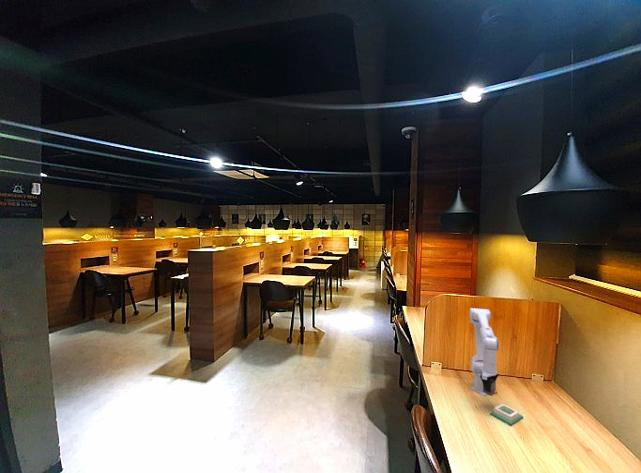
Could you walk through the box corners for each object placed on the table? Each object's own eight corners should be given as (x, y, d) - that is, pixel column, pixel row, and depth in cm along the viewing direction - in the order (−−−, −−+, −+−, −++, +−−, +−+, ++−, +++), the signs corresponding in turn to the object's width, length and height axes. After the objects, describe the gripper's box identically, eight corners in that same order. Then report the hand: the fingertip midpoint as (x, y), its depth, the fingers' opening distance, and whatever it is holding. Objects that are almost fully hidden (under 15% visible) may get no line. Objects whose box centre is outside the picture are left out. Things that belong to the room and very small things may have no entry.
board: (502, 407, 135) (502, 405, 135) (523, 418, 127) (523, 416, 127) (489, 414, 130) (489, 412, 130) (510, 426, 122) (510, 423, 122)
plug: (487, 389, 138) (487, 377, 138) (499, 395, 133) (499, 383, 133) (482, 391, 136) (482, 379, 136) (494, 397, 131) (494, 385, 131)
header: (502, 407, 133) (502, 403, 133) (518, 416, 127) (519, 411, 127) (494, 412, 130) (494, 407, 130) (510, 421, 124) (510, 416, 124)
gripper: (486, 355, 143) (485, 381, 143) (475, 363, 134) (474, 391, 134) (501, 359, 138) (501, 386, 138) (491, 368, 128) (491, 397, 128)
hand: (489, 389), depth 135 cm, fingers closed on plug, 5 cm apart
